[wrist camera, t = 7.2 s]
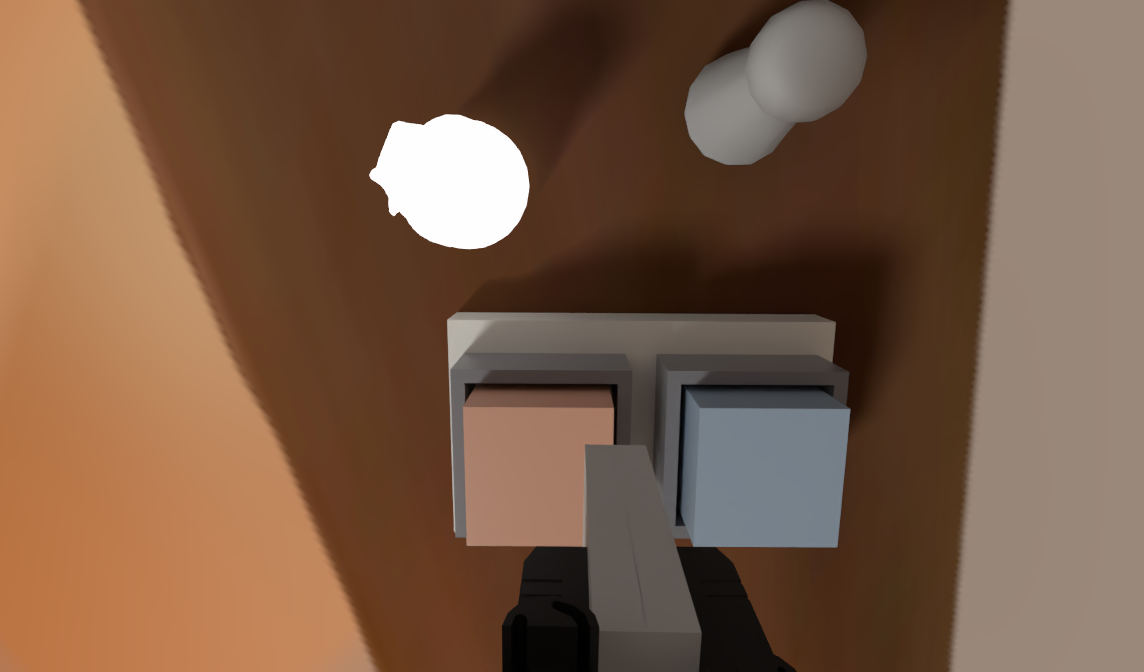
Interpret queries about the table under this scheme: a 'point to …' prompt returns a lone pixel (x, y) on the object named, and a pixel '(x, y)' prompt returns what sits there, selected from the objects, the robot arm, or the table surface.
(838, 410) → the slate blue key
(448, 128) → the figurine
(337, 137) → the table surface
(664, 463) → the key housing
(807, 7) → the salt shaker
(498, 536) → the terracotta key
